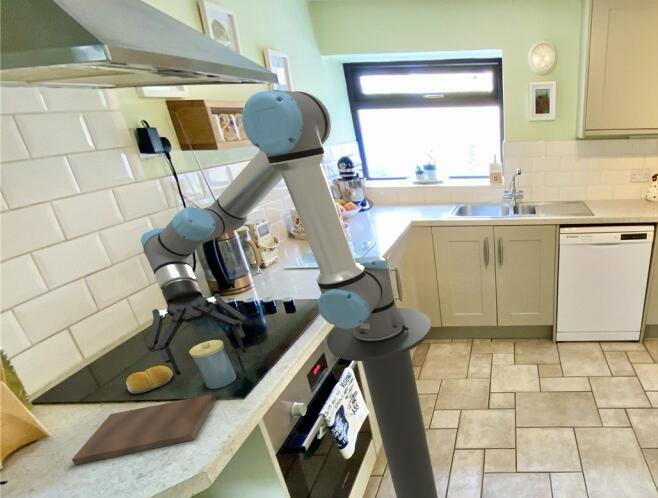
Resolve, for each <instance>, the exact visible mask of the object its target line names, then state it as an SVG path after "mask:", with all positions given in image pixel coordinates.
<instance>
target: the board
mask: <svg viewBox="0 0 658 498" xmlns="http://www.w3.org/2000/svg"><path fill="white" fill-rule="evenodd" d="M216 401H217V399H216V396H215V394H214V393H213V394H207V395H201V396H197V397H192V398H186V399H181V400H176V401H171V402H165V403H162V404H156V405H155V404H154V405H150V406H146V407H145V406H144V407H139V408H134V409H129V410H124V411H119V412H113V413H110V414H109V416H107V418H106V419H104V421H103V422H102V423H101V425H99V427H98V428H97V429H96V431H95V432H94V433H93V434H92V435H91V436H90V437H89V438H88V440H87V441H86V442H85V443H84V444H83V446H82V447H81V448H80V449H79V450H78V452H77V453H76V454H75V455H74V456H73V457H72V458H71V461H72V463H73V464H74V465H75V466H79V465H83V464H84V465H85V464H88V463H92V462H97V461H102V460H106V459H112V458H115V457H116V458H117V457H121V456H125V455H126V456H127V455H130V454H134V453H140V452H144V451H148V450H154V449H157V448H163V447H168V446H172V445H176V444H180V443H185V442H191V441H194V440H195V439H196V437H197V435H198V433H199V431H200V430H201V428H202V426H203V424H204V422H205V420H206V418H207V417H208V415H209V413H210V412H211V409H212V407H213V406H214V403H215V402H216Z"/></svg>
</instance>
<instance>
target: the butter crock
mask: <svg viewBox="0 0 658 498" xmlns="http://www.w3.org/2000/svg"><path fill="white" fill-rule="evenodd" d="M188 353H189V355H190V356H191V358H192V359H193V361H194V363H195V365H196V367H197V370H198V372H199V374H200V376H201V378H202V380H203V382H204V384H205V386H206V388H208V389H210V390H215V389H221V388H224V387H226V386H229V385H230V384H232V383H233V382H234V381H236V379H237V373H236V372H235V369H234V367H233V364H232V362H231V360H230V357H229V355H228V353H227V351H226V348H225V344H224V342H223V340H220V339H212V340H211V339H210V340H206V341H203V342H201V343H198V344H196V345H194V346H193V347H192V348H190V350H189V351H188Z"/></svg>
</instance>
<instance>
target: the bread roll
mask: <svg viewBox="0 0 658 498" xmlns="http://www.w3.org/2000/svg"><path fill="white" fill-rule="evenodd" d="M173 376H174V373H173V371H172V370H171V368H169V367H167V366H166V365H156V366H152V367H149V368H147V369H145V370H144V371H138V372H137V371H136V372H134V373H132V374H129V375H128V376H127V378H126V382H125V384H126V388H127V390H128V392H129V393H130V394H137V395H138V394H143V393H147V392H150V391H152V390H155V389H156V388H161V387H163V386H164V385H165V386H166V385H167V384H168V383H169V382H170V381H171V379H172V378H173Z"/></svg>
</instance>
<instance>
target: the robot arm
mask: <svg viewBox="0 0 658 498" xmlns="http://www.w3.org/2000/svg"><path fill="white" fill-rule="evenodd" d="M241 122H242V127H243V131H244V133H245V135H246V137H247V139H248V140H249V142H250V143H251V144H252V145H253V146H254V147H256V148H257V149H259V151H258V152H257V153H256V154H255V156H254V157H253V158H252V159H251V160H250V161H249V162H248V163H247V164H246V165H245V167H244V168H242V170H241V171H240V172H239V173H238V175H236V176H235V178H234V179H233V180H232V181H231V182H230V184H228V186H227V187H226V188H225V189H224V190H223V191H222V192H221V194H220V195H219V196H218V197H217V198H216V199H215V200H214V202H213V203H212V204H211V205H209V206H205V207H204V208H201V207H194V206H186V207H184V208H182V209H181V210H180V211H179V212H177V213H176V214H175V215H174V216H173V217H172V219H171V221H170V222H169V223H168V224H167V225H166V226H165V227H164V228H161V227H160V228H153V229H150V231H145V232H144V233H143V234H142V235H141V237H140V242H141V246H142V249H143V254H144V255H145V257H146V259H147V262H148V263H149V266H150V268H151V270H152V272H153V274H154V277H155V280H156V282H157V284H158V286H159V289H160V290H161V294H162V296H163V299H164V301H165V303H166V305H167V307H166V308H165V309H160V310H159V309H157V308H154V309H152V312H151V313H152V317H153V320H152V323H151V326H150V331H149V334H148V338H147V343H146V348H147V350H148V351H149V352H151V353H154V352H159V353H160V356H161V358H162V360H163V362H164V363H166V364H169V363H170V364H171V367H172V369H173V371H174V373H175V374H176V375H177V376H179V375H182V371H181V369H180V367H179V365H178V362H177V360H176V357H175V355H174V352H173V351H172V349H171V347H170V344H171V343H172V341H173V340H174V337H175V336H176V334H177V332H178V330H179V329H180V327H182V326H183V323H191V322H193V321H195V320H196V321H198V320H203V317H207V318H209V319H212V320H215V321H217V322H219V323H222V324H224V325H226V326H229V327H231V330H232V332H233V334H234V337H235V339H236V341H237V343H238V346H239V348H240V350H241V353H242V354H245V353H247V349H246V347H245V345H244V342H243V340H244V339H246V335H245V332H244V330H243V326H244V325H247V324H248V319H247V317H246V315H244V314H243V313H241V312H239V311H238V309H235V308H234V307H233V306H231V305H230V304H228V303H227V302H226V301H225V300H223V298H222V297H221V295H220V294H219V293H214V294H213V296H211V297H208V298H207V297H205V295H204V293H203V291H202V288H201V286H200V285H199V283H198V279H197V278H196V275H195V273H194V270H193V268H192V266H191V264H190V261H189V257H190V256H191V255H192V254H193V253H194V252H195V251H196V250H197V249H198V248H199V247H200V246H201V245H203V244H205V243H207V242H209V241H212V240H215V239H216V238H219V237H221V236H223V235H226V234H229V233H231V232H234V231H237V230H239V229H240V228H242V227H243V226H245V225H246V223H247V221H248V220H247V219H248V216H249V214H251V213H252V212H253V211H254V209H255V208H256V207H257V206H258V205H259V204H260V203H261V202H262V201H263V200H264V199H265V198H266V197H267V196H268V195H269V194H270V192H271V191H272V190H274V188H275V187H276V186H278V185H279V183H280V182H281V181H282V180H283V181H284V183H285V186H286V188H287V191H288V193H289V196H290V199H291V201H292V204H293V207H294V209H295V211H296V214H297V216H298V219H299V221H300V224H301V227H302V229H303V232H304V235H305V236H306V239H307V243H308V244H309V247H310V250H311V252H312V254H313V255H312V256H313V257H314V260H315V262H316V266H317V267H318V270H319V274H318V276H317V278H316V284H317V286H318V288H319V290H320V293H321V294H320V295H319V298H318V301H317V310H318V313H319V315H320V316H321V317H322V318H323V320H324V321H326V322H327V323H328V324H330V325H333V326H335V328H336V327H339V328H343V329H351V328H353V332H354V336H355V338H356V339H357V340H359V341H361V342H367V343H375V342H382V341H386V340H389V339H392V338H394V337H396V336H398V335H400V334H401V333H402V332H403V331H404V330H407V331H408V329H409V328H408V327H406V325H405V321H404V318H403V316H402V315H401V313H400V311H399V310H398V308H399V307H398V306H397V305H396V302H395V295H394V290H393V286H392V281H391V275H390V268H389V266H388V262H387V260H386V259H385V258H384V257H381V256H376V255H375V256H372V255H371V256H370V255H369V256H360V257H354V254H353V251H352V248H351V246H350V243H349V240H348V237H347V235H346V231H345V229H344V226H343V223H342V222H343V221H342V220H341V217H340V214H339V211H338V208H337V205H336V202H335V199H334V197H333V193H332V191H331V189H330V185H329V182H328V179H327V176H326V174H325V170H324V168H323V165H322V162H323V160H324V158H325V156H326V152H325V149H324V147H323V145H324V144H325V143H326V142H327V140H328V139H329V137H330V136H331V132H332V129H333V128H332V127H333V126H332V125H333V124H332V118H331V115H330V112H329V110H328V108H327V107H326V106H325V104H324V103H323V102H322V100H320V99H319V98H318V97H316V96H314V95H313V94H310V93H308V92H306V91H305V92H304V91H299V90H297V91H291V90H280V89H269V90H262V91H259V92H258V91H257V92H255V93H254V94H252V95H251V96H250V97H249V98H248V99H247V100H246V101H245V104H244V107H243V109H242V112H241ZM210 304H212V305H214V306H218V307H219V308H220V309H222V311H224V312H226V313H227V314H228V315H230V316H231V317H229V316H227V315H225V314H223V313H220V312H218V311H215V310H214V309H212V308H210V307H209V306H210ZM168 315H169V316H171V321H170V323H169V325H168V327H167V328H166V330H165V331H164V333H163V335H162V337H161V338H160V335H161V331H162V327H163V321H164V320H166V317H167V316H168ZM232 317H233V318H232Z"/></svg>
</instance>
